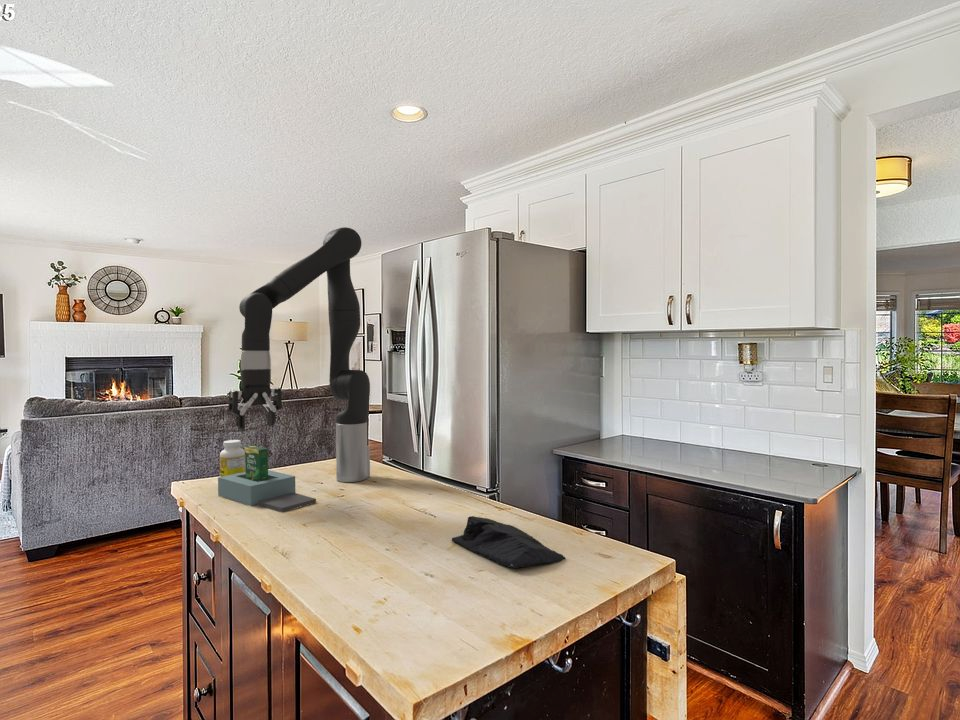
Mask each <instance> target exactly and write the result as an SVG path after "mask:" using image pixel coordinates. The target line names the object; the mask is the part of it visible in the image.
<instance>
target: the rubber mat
mask: <svg viewBox="0 0 960 720" xmlns="http://www.w3.org/2000/svg"><path fill="white" fill-rule="evenodd" d="M314 502H316V503H317V498H315V497H310V496H306V495H303V494H301V493H296V492H295V493H289V494H285V495H281V496H277V497H273V498H269V499H266V500H262V501H258V504H257V505H258V506H259V507H260V506H261V507H263V508H266V509H270V510H272V511H273V510H274V511H276V512H279V513H284V512H287V510H288V511H291V510H294V508H295V509H298V508H301V507H300V506H302V507H305V506H304V505H306V506H308V505H307V504H309V505H311V504H310V503H313V504H315V503H314ZM297 507H298V508H297ZM290 509H291V510H290Z"/></svg>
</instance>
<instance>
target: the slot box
mask: <svg viewBox="0 0 960 720" xmlns="http://www.w3.org/2000/svg"><path fill="white" fill-rule="evenodd" d="M217 490H218V491H217V496H218V497H221V498H224V499H228V500H230V501H232V502H236V503H239V504H240V503H241V504H244V505H246V504H247V506H249V505H250V507H252V506H256V505H259V504H258V501H262V500H266V499H269V498H273V497H277V496H281V495H285V494H289V493H296V476H295V475H292V474H287V473H282V472H279V471H276V470H275V471H274V470H271V469H268V480H265V481H260V482H256V481H252V480H248V479H246V471H245V472H242V473H237V474H232V475H227V476H222V477H220V476H218V477H217Z"/></svg>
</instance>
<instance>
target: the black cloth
mask: <svg viewBox="0 0 960 720" xmlns="http://www.w3.org/2000/svg"><path fill="white" fill-rule="evenodd" d="M466 521H467V522H466V526H465V528H464V530H463V534H461V535H458V536H455V537H452V538H451V541H452V542H453V543H454V544H459V545H460V546H462V547H463V548H464V549H466V550H468V551H470V552H472V553H474V554H477V555H478V554H479V555H481V556H483V557H485V558H486V559H488V560H490V561H494V563H497V564H498V565H500V566H504V567H506V568H508V567H509V568H511V569H518V568H521V567H528V566H533V565H535V566H537V565H538V566H539V565H545V564H546V565H547V564H551V563H552V564H553V563H554V564H555V563H559V562H560V561H561V562H562V560H565V559H566V557H565V556H564V555H563V554H562V553H559V552H557V551H556V550H554V549H550V548H549V547H547V546H546V545H544V544H543V543H541V542H540V541H539V540H537V539H536V538H534V537H533V536H532V535H530V534H528V533H527V532H525V531H523V530H521V529H520V528H518V527H515V526H514V525H511V524H505V523H503V522H499V521H496V520H494V519H490V518H486V517H479V516H474V515H472V516H471V515H470V516H468V517H467V520H466Z"/></svg>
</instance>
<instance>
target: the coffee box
mask: <svg viewBox="0 0 960 720" xmlns="http://www.w3.org/2000/svg"><path fill="white" fill-rule="evenodd" d="M268 450H269V449H268V448H267V447H260V446H257V445H251V446H245V447H244V452H245V472H246V479H248V480H252V481H256V482H260V481H265V480H268V470H269V452H268Z"/></svg>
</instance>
